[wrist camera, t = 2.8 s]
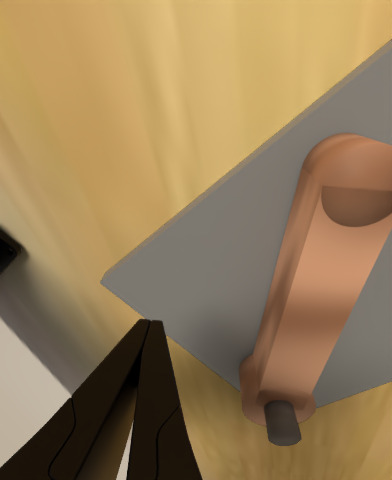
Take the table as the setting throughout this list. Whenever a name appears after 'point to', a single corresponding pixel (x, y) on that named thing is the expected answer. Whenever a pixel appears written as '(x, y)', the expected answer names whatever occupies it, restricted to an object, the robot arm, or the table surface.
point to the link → (317, 278)
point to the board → (265, 249)
